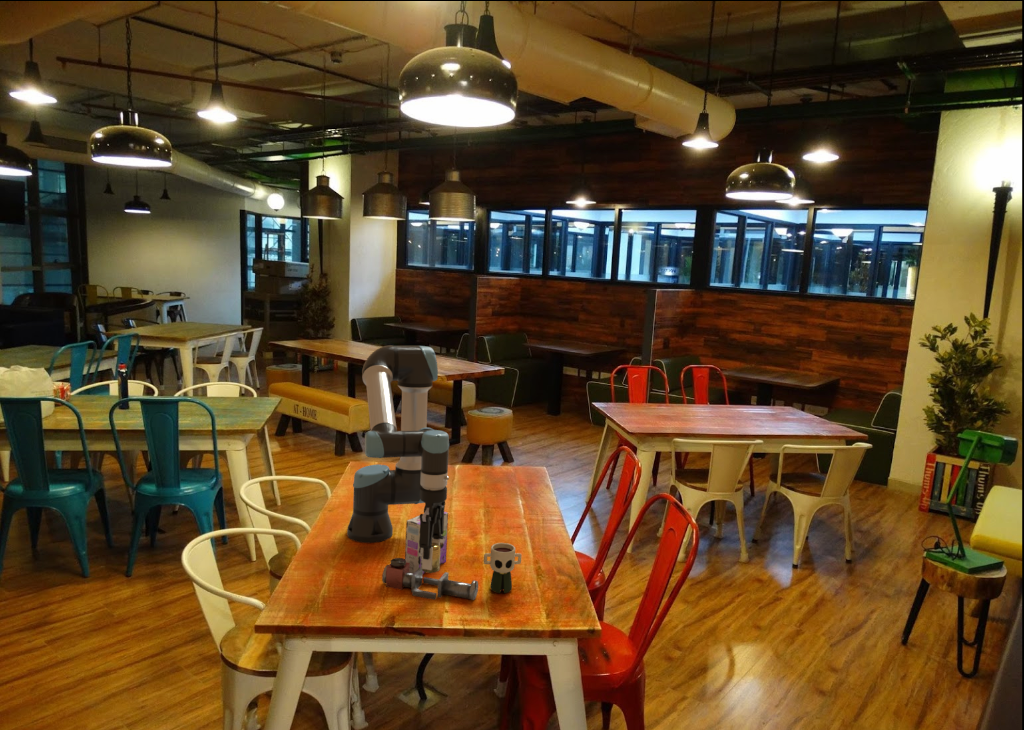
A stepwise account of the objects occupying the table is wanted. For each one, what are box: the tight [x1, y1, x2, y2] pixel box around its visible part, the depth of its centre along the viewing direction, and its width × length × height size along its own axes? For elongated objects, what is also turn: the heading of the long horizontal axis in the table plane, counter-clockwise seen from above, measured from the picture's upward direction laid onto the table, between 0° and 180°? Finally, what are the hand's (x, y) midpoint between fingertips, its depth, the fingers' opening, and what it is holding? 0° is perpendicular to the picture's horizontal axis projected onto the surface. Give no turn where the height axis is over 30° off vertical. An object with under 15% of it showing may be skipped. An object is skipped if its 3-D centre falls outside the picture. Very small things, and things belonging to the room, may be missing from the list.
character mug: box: [483, 542, 522, 594], centre depth 202 cm, size 11×7×13 cm, turn 97°
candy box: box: [404, 511, 449, 575], centre depth 214 cm, size 14×6×16 cm, turn 148°
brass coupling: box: [422, 543, 441, 574], centre depth 199 cm, size 5×5×7 cm
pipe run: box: [381, 557, 479, 601], centre depth 200 cm, size 27×9×7 cm, turn 75°
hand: (430, 564), depth 199 cm, fingers closed on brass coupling, 5 cm apart
